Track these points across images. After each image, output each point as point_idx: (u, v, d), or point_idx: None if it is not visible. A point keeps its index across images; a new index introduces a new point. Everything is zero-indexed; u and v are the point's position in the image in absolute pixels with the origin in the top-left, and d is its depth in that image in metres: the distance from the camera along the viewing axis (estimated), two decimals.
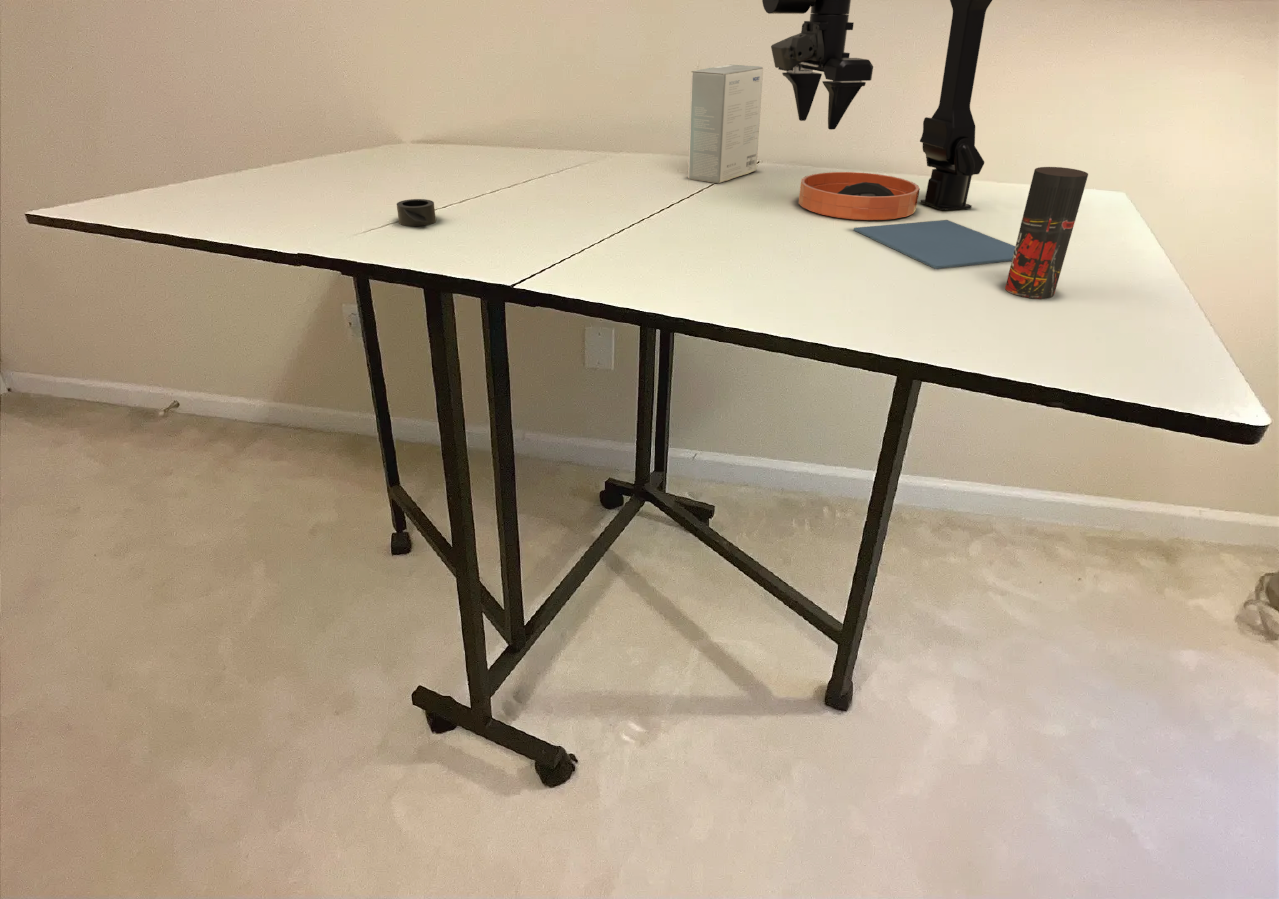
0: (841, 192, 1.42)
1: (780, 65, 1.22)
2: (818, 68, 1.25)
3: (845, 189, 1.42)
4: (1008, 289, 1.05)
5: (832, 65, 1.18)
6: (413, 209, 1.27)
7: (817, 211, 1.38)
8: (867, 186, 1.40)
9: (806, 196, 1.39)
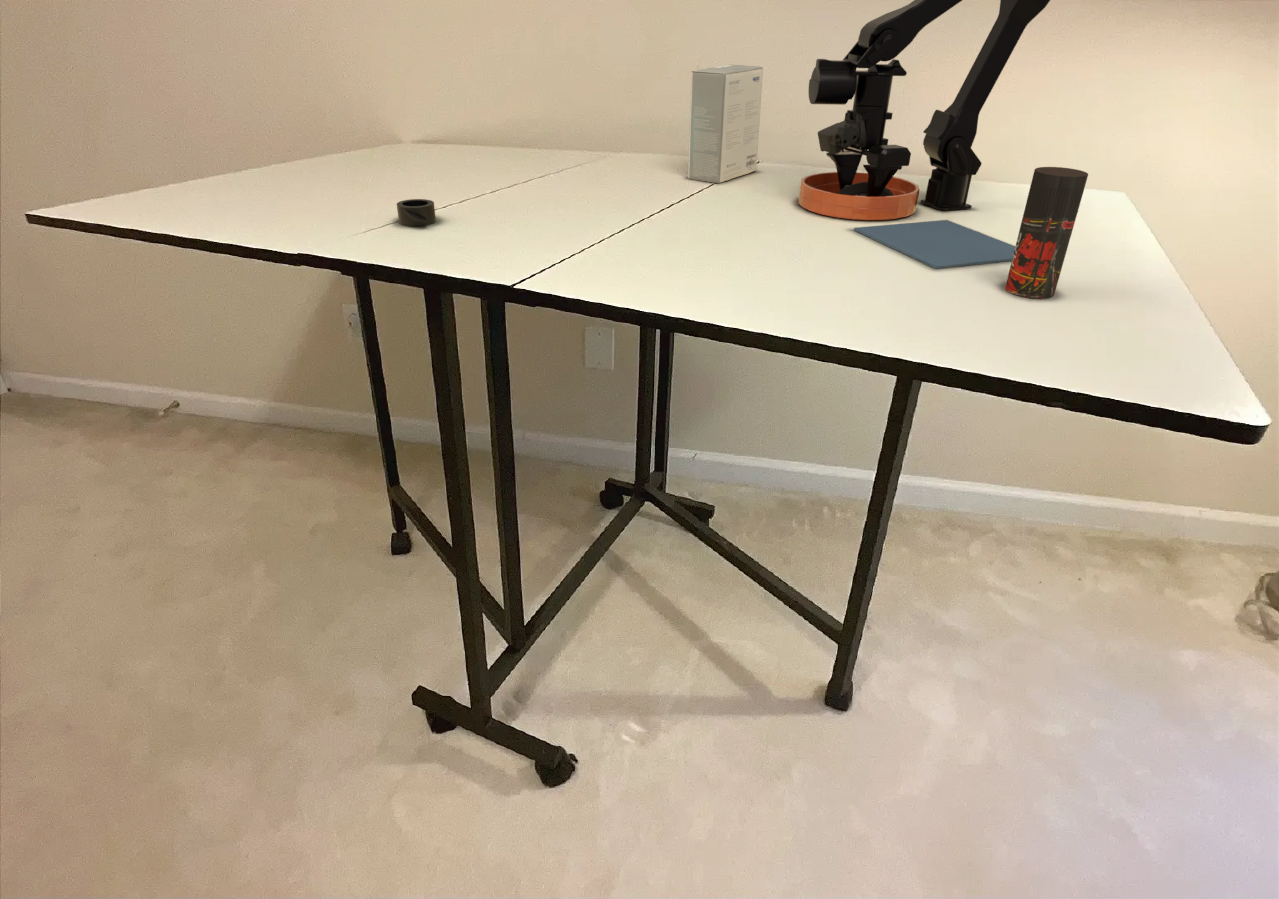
0: (841, 192, 1.42)
1: (826, 150, 1.36)
2: (861, 152, 1.38)
3: (845, 189, 1.42)
4: (1008, 289, 1.05)
5: (874, 152, 1.31)
6: (413, 209, 1.27)
7: (817, 211, 1.38)
8: (867, 186, 1.40)
9: (806, 196, 1.39)
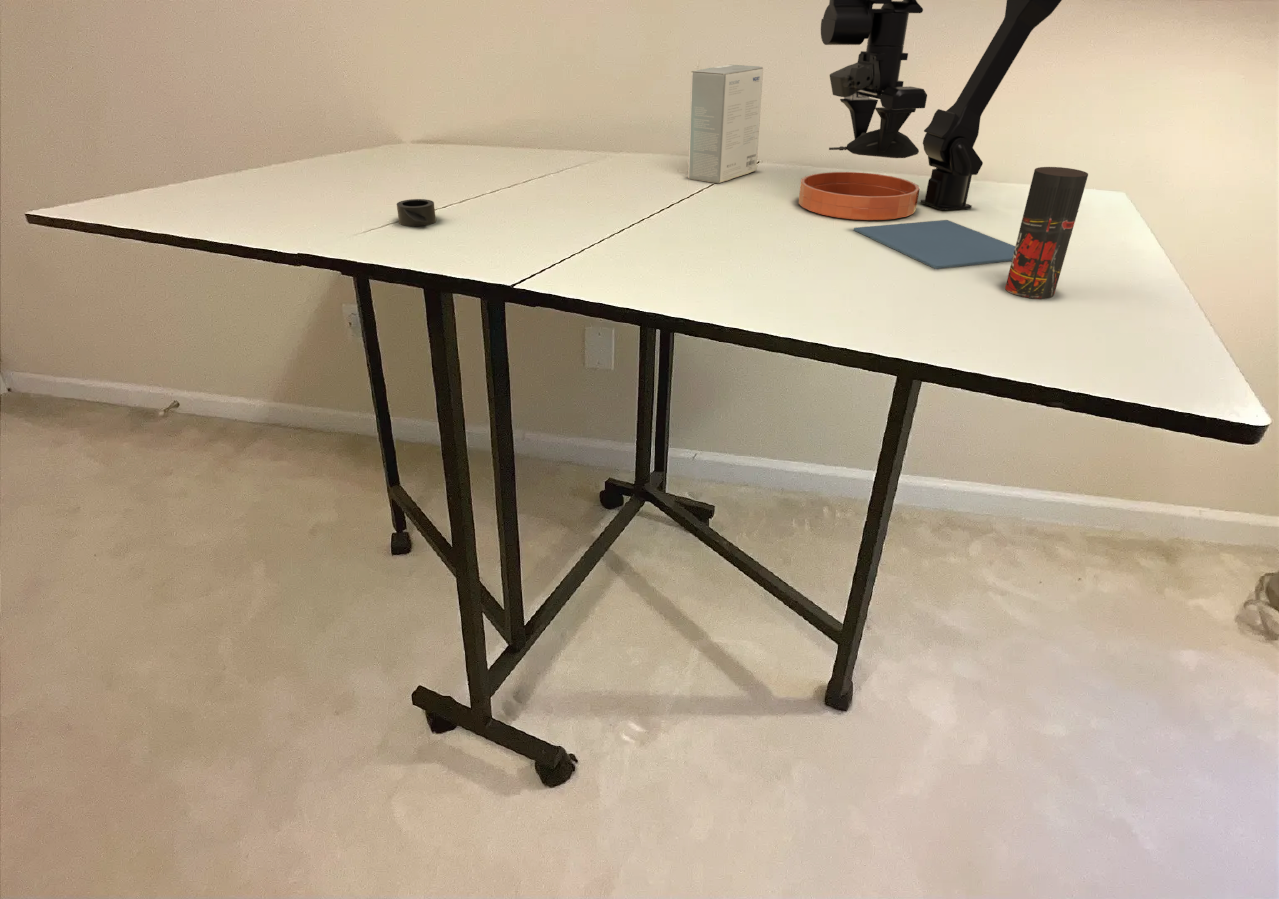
0: (858, 140, 1.36)
1: (838, 93, 1.30)
2: (876, 96, 1.32)
3: (862, 137, 1.36)
4: (1008, 289, 1.05)
5: (889, 94, 1.25)
6: (413, 209, 1.27)
7: (817, 211, 1.38)
8: None
9: (806, 196, 1.39)
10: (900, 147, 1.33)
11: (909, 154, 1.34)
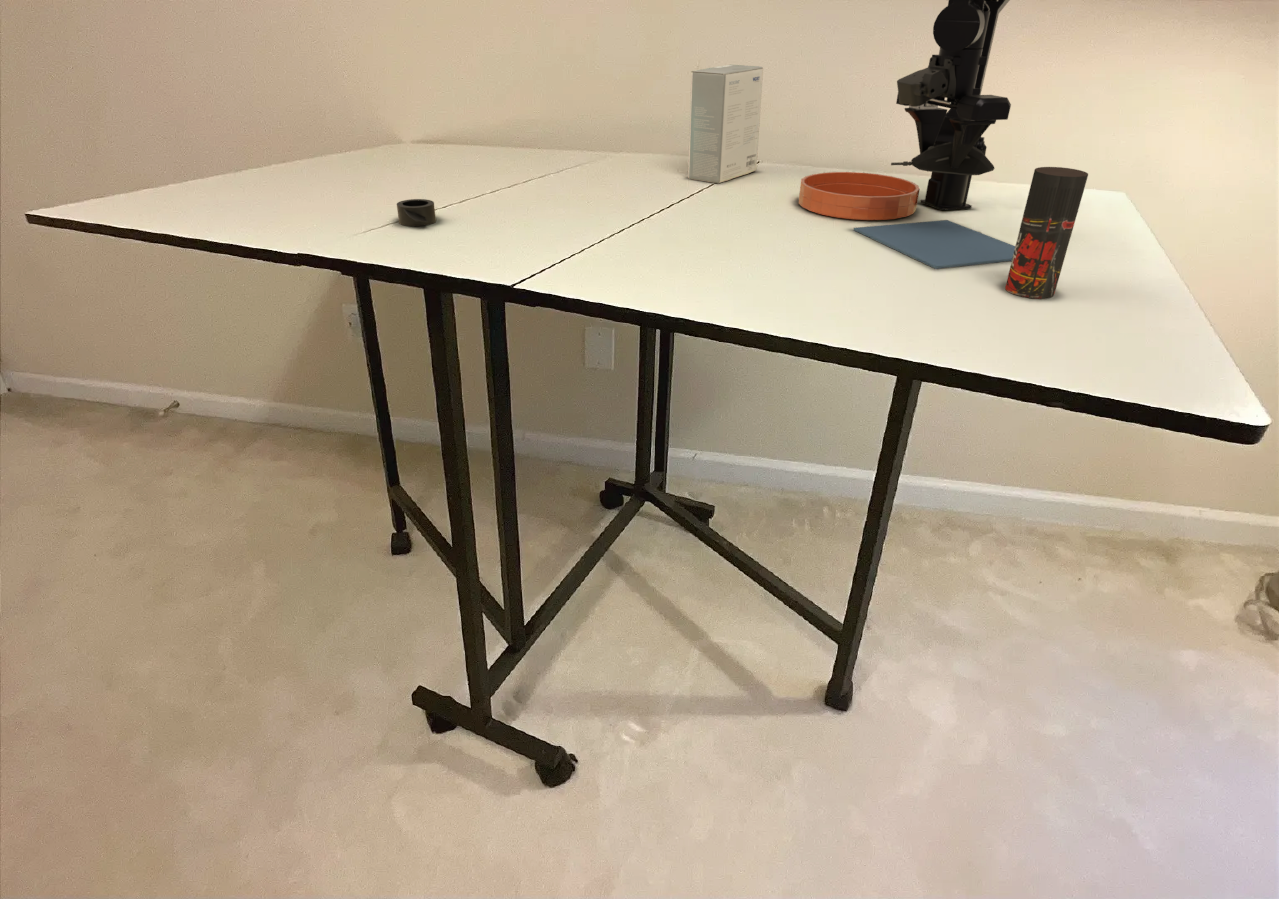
0: (925, 154, 1.21)
1: (907, 102, 1.15)
2: (948, 105, 1.17)
3: (930, 151, 1.21)
4: (1008, 289, 1.05)
5: (968, 103, 1.10)
6: (413, 209, 1.27)
7: (817, 211, 1.38)
8: None
9: (806, 196, 1.39)
10: (974, 162, 1.18)
11: (984, 171, 1.19)
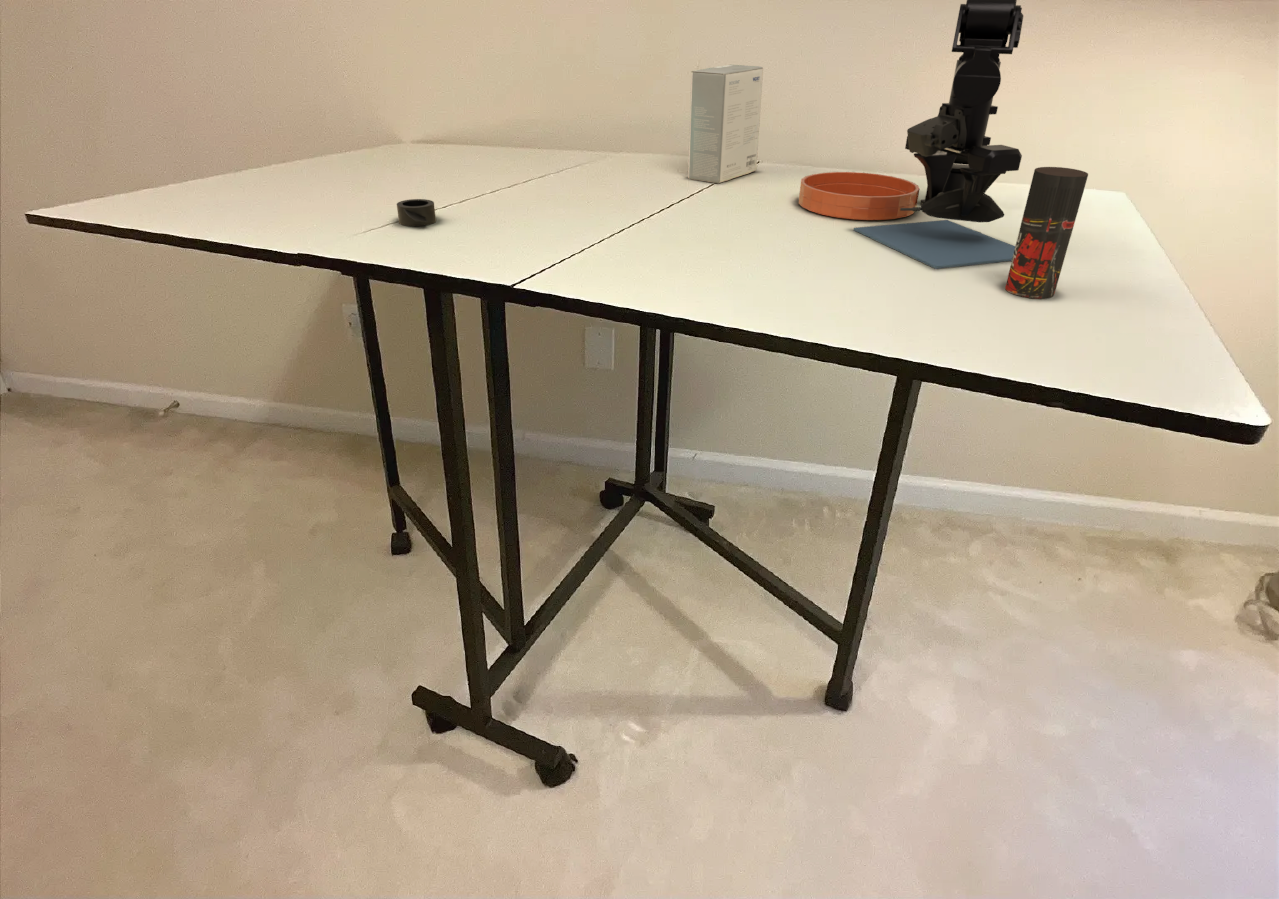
0: (935, 201, 1.21)
1: (917, 151, 1.14)
2: (958, 153, 1.17)
3: (939, 197, 1.21)
4: (1008, 289, 1.05)
5: (979, 155, 1.10)
6: (413, 209, 1.27)
7: (817, 211, 1.38)
8: None
9: (806, 196, 1.39)
10: (984, 210, 1.18)
11: (994, 218, 1.19)
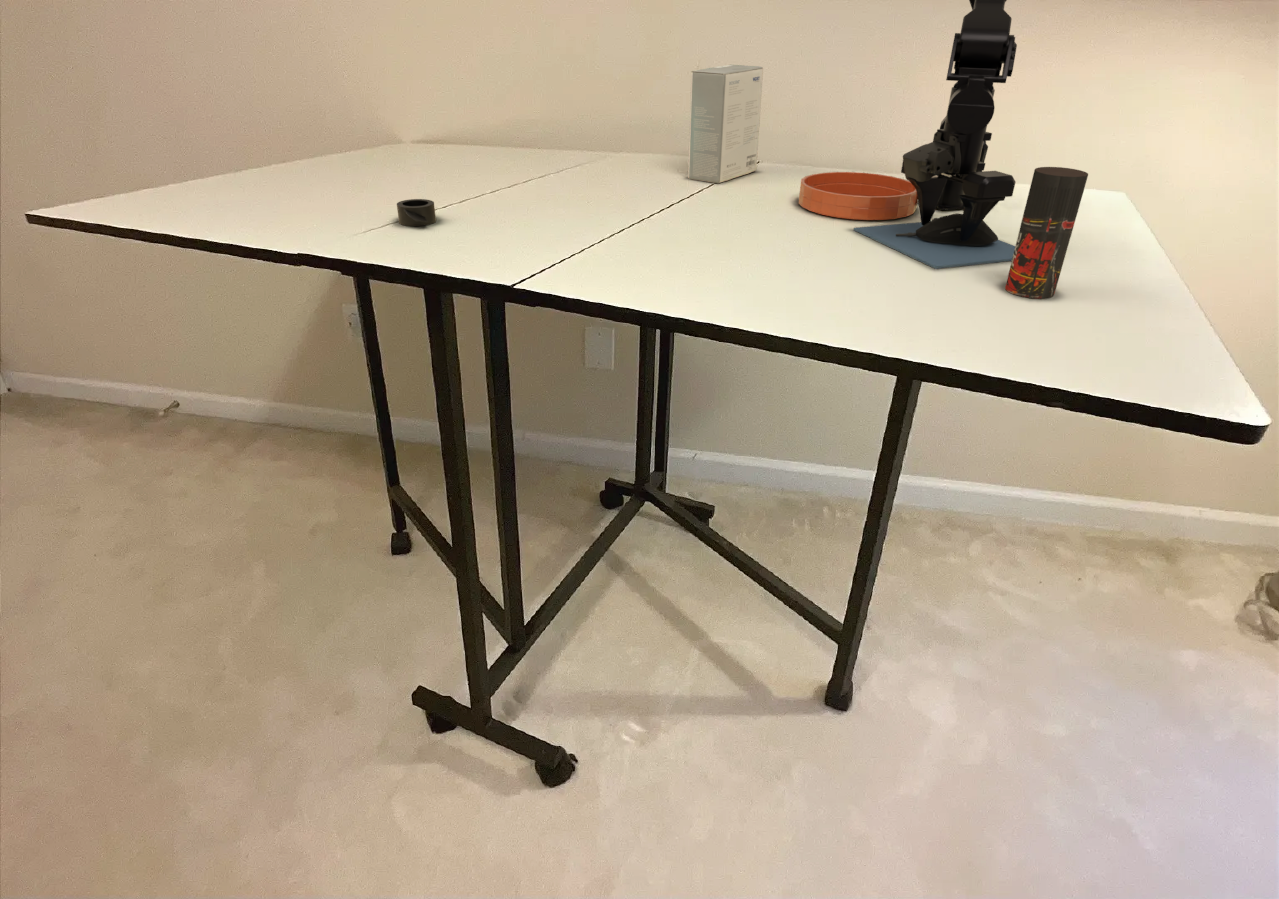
0: (930, 226, 1.23)
1: (913, 176, 1.16)
2: (949, 176, 1.19)
3: (934, 222, 1.23)
4: (1008, 289, 1.05)
5: (973, 181, 1.11)
6: (413, 209, 1.27)
7: (817, 211, 1.38)
8: None
9: (806, 196, 1.39)
10: (978, 234, 1.20)
11: (989, 242, 1.20)
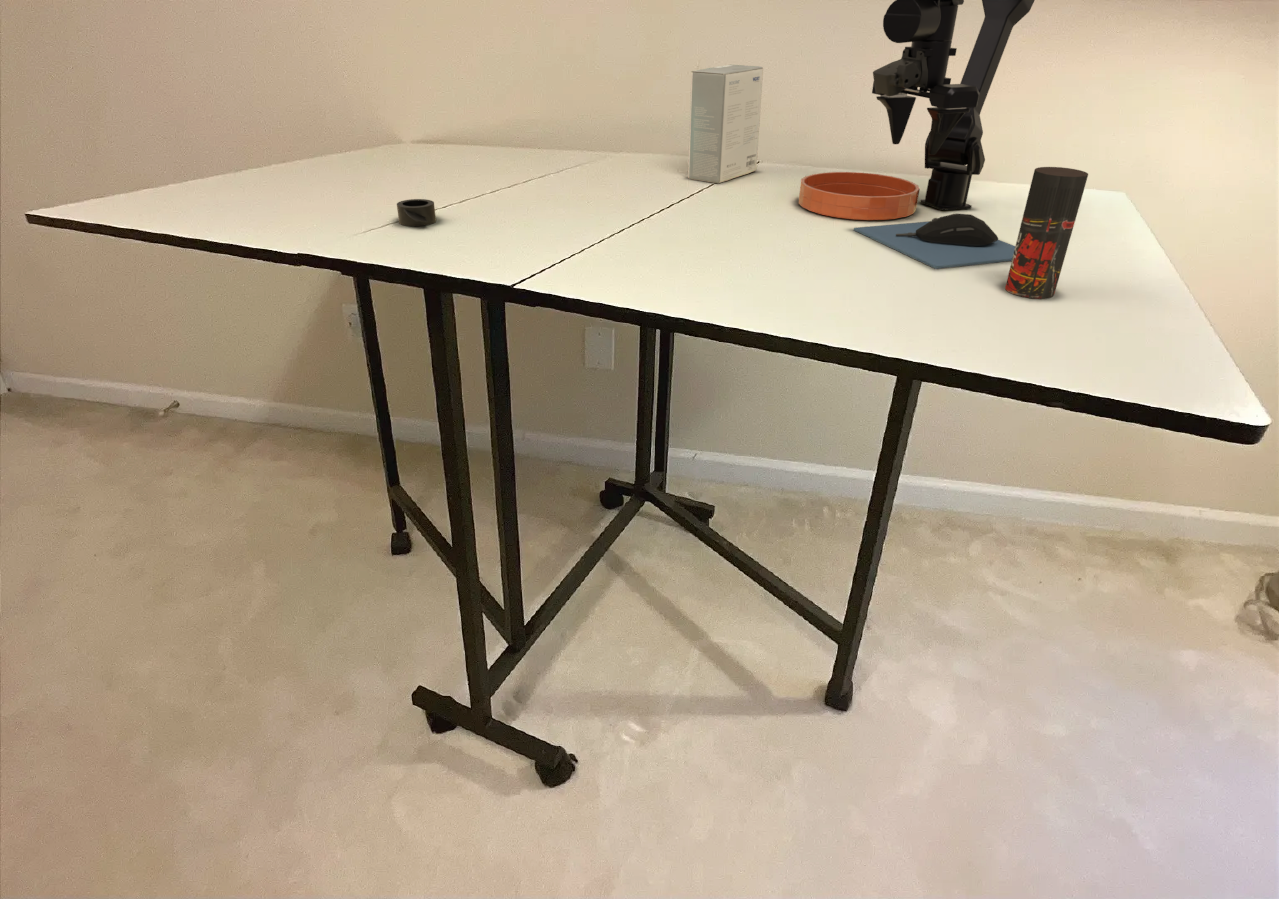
0: (930, 226, 1.23)
1: (883, 92, 1.22)
2: (917, 93, 1.25)
3: (934, 222, 1.23)
4: (1008, 289, 1.05)
5: (939, 92, 1.17)
6: (413, 209, 1.27)
7: (817, 211, 1.38)
8: (962, 219, 1.21)
9: (806, 196, 1.39)
10: (978, 234, 1.20)
11: (989, 242, 1.20)
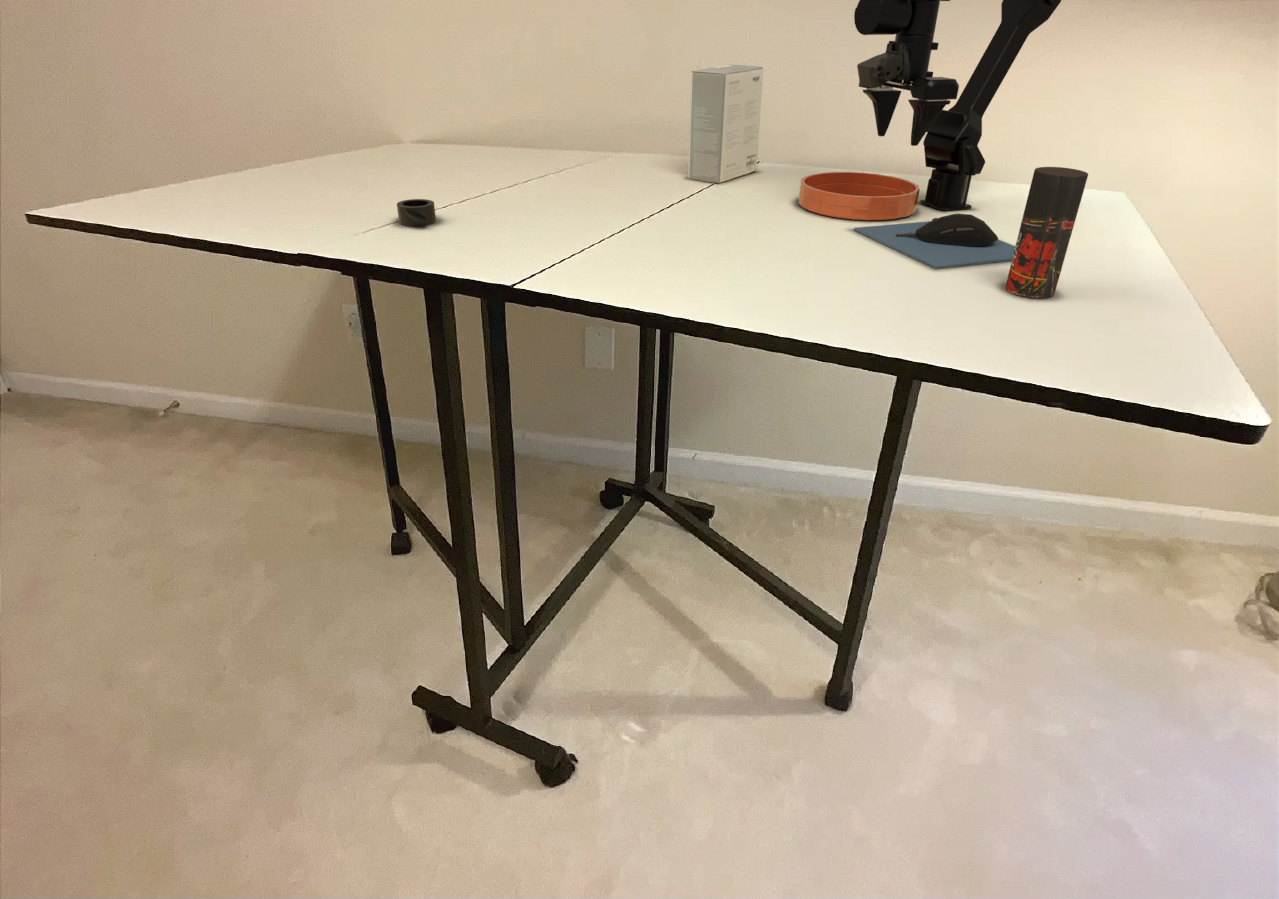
0: (930, 226, 1.23)
1: (866, 84, 1.26)
2: (901, 86, 1.29)
3: (934, 222, 1.23)
4: (1008, 289, 1.05)
5: (920, 84, 1.21)
6: (413, 209, 1.27)
7: (817, 211, 1.38)
8: (962, 219, 1.21)
9: (806, 196, 1.39)
10: (978, 234, 1.20)
11: (989, 242, 1.20)
